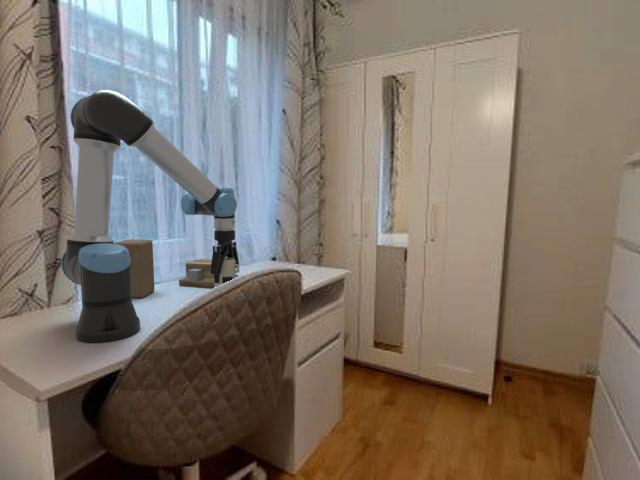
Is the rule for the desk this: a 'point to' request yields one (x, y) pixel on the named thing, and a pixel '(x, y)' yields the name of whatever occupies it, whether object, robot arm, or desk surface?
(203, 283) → the walnut stand
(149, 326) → the desk surface
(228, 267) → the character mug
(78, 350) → the desk surface
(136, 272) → the wooden block
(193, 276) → the grey cube
